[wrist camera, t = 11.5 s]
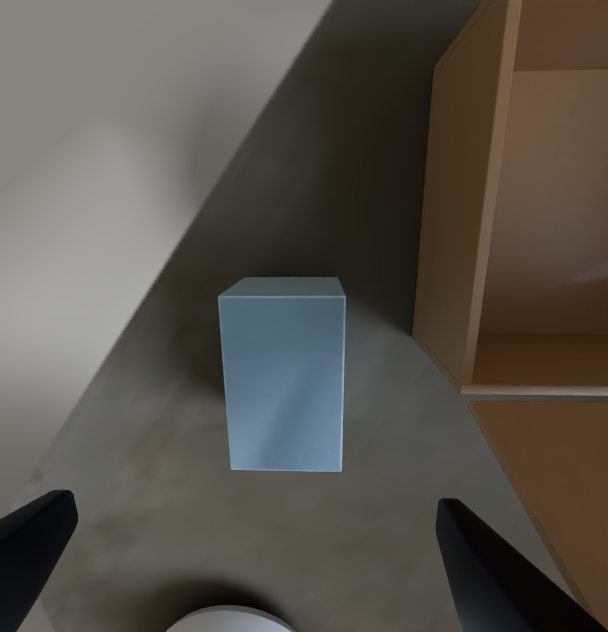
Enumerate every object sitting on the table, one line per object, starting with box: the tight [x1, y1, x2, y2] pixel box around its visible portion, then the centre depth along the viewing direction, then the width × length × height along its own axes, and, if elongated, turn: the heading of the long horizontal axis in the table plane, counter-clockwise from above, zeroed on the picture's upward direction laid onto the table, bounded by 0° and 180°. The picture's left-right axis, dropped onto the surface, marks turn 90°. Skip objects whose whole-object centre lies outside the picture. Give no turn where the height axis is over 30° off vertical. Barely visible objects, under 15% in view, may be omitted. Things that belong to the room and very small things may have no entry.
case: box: [218, 277, 346, 472], centre depth 16 cm, size 5×8×5 cm, turn 1°
